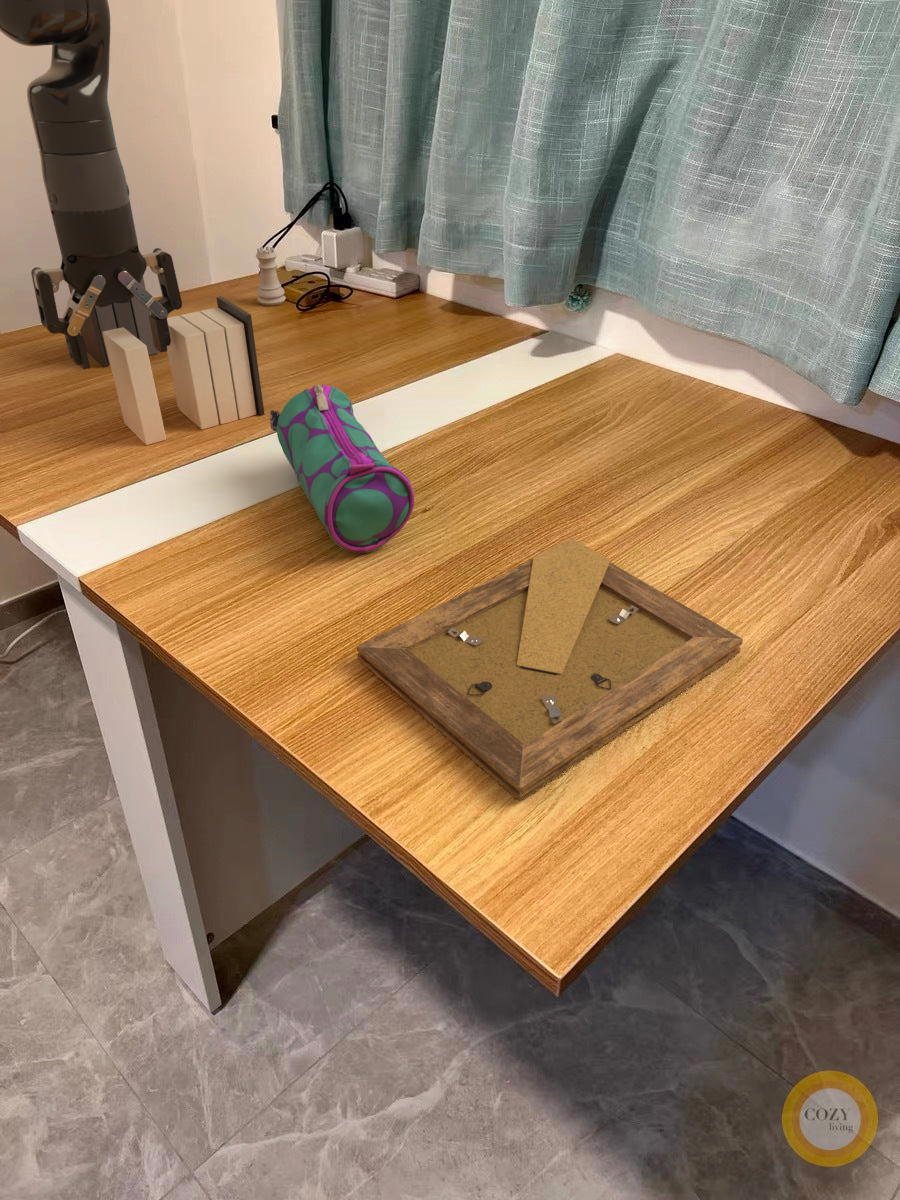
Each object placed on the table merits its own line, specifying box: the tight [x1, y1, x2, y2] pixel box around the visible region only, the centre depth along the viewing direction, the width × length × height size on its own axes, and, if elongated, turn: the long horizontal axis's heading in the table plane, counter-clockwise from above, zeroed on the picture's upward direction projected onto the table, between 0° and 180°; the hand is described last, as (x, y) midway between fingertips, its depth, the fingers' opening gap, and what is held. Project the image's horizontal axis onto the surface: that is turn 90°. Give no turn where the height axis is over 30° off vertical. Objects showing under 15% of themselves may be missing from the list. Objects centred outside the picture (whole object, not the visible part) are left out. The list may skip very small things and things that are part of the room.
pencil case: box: [269, 384, 415, 554], centre depth 86 cm, size 21×9×10 cm, turn 22°
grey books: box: [67, 276, 160, 368], centre depth 119 cm, size 8×8×12 cm
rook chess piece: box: [255, 246, 287, 307], centre depth 137 cm, size 4×4×8 cm
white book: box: [102, 327, 167, 446], centre depth 99 cm, size 2×7×11 cm, turn 36°
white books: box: [166, 296, 265, 431], centre depth 103 cm, size 8×8×12 cm
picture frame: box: [356, 537, 744, 802], centre depth 69 cm, size 19×2×24 cm
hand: (123, 358), depth 97 cm, fingers open, 8 cm apart
